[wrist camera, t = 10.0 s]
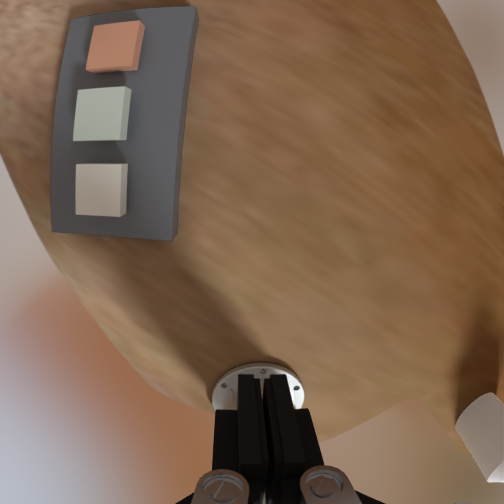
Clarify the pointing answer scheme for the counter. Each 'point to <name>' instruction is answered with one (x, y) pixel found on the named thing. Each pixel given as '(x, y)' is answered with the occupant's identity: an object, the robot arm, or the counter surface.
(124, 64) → the terracotta key
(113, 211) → the cream key
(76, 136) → the sage key
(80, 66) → the keypad
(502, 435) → the bottle
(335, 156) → the counter surface
